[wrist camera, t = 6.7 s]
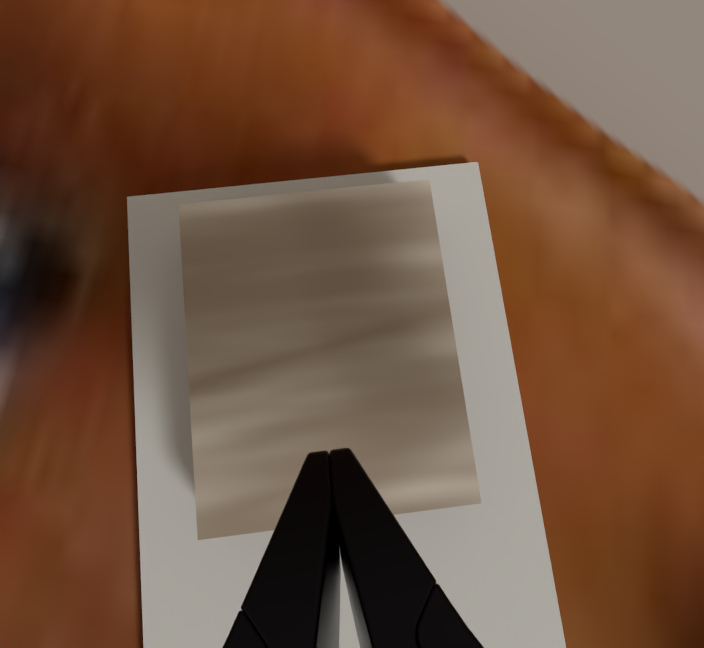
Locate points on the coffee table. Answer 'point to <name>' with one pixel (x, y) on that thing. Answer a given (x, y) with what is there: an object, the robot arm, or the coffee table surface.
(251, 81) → the coffee table surface
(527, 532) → the grey mat
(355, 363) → the walnut plaque
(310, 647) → the robot arm
